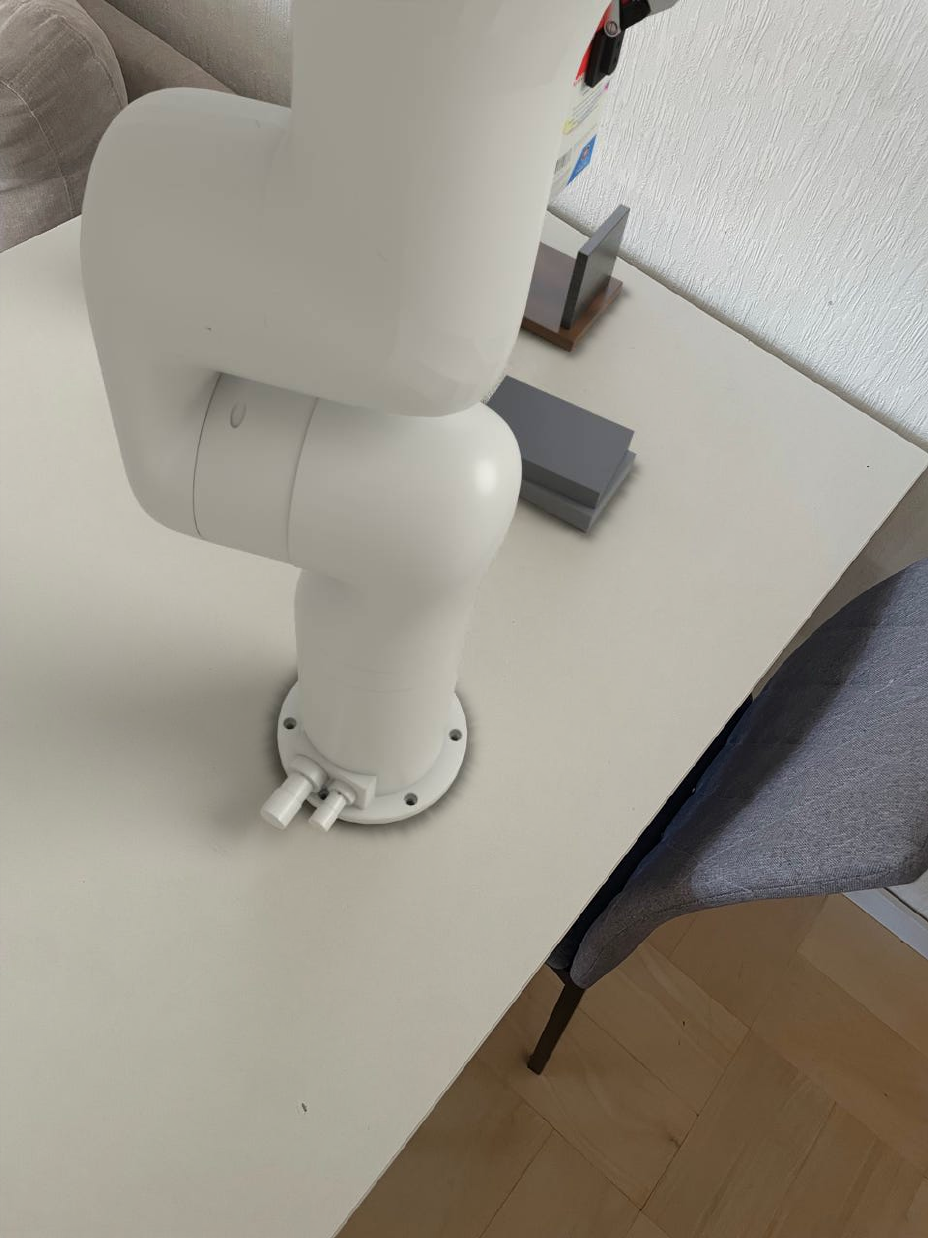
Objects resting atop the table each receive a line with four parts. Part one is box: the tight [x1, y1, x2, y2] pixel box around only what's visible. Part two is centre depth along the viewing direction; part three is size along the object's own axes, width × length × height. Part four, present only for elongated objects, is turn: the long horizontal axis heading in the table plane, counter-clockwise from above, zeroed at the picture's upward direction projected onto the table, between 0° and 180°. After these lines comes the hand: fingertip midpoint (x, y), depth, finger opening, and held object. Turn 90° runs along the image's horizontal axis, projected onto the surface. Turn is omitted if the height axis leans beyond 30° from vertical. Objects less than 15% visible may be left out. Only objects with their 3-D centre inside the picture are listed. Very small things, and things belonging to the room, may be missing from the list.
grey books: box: [485, 374, 637, 533], centre depth 82 cm, size 8×12×4 cm
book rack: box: [520, 203, 631, 352], centre depth 91 cm, size 10×23×11 cm, turn 59°
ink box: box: [547, 15, 612, 207], centre depth 79 cm, size 8×5×15 cm, turn 148°
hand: (564, 61), depth 77 cm, fingers closed on ink box, 5 cm apart
